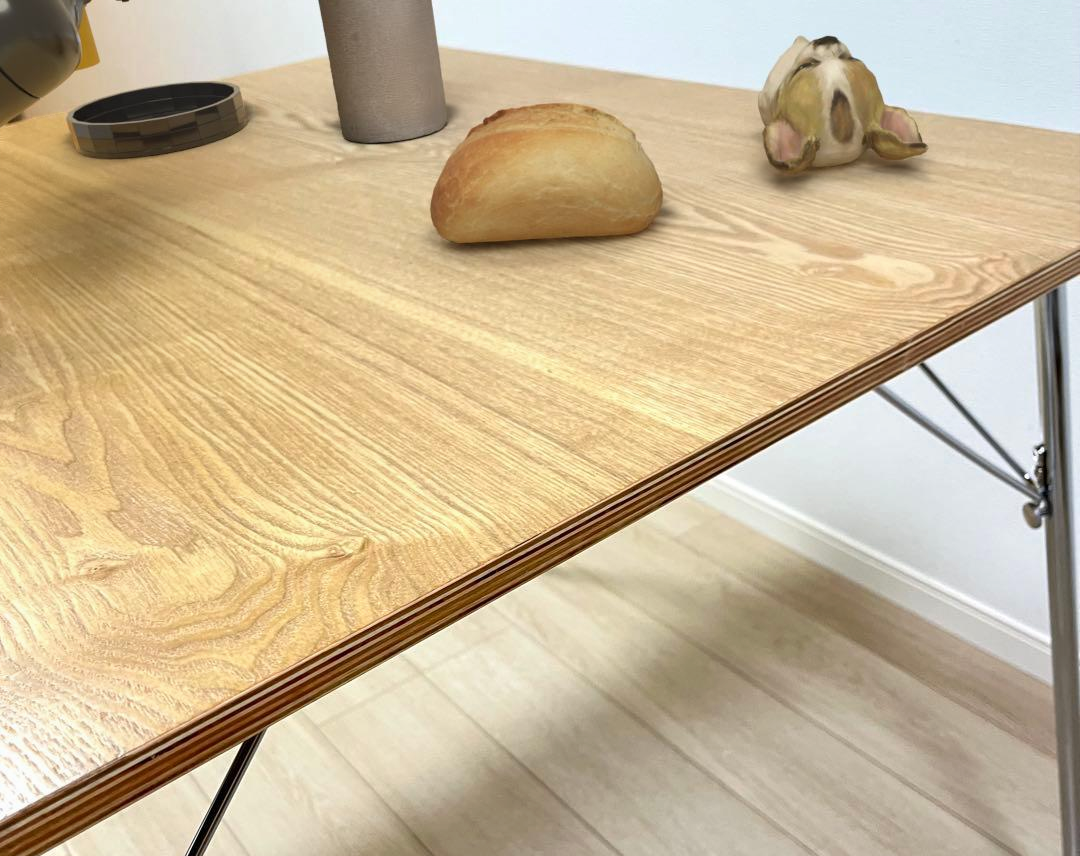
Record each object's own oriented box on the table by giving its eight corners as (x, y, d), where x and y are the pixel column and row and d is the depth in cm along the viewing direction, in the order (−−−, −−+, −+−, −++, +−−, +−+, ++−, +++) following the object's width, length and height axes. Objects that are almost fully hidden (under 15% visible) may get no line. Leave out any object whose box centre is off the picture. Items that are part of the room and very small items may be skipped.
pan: (69, 168, 102) (58, 134, 101) (83, 128, 116) (74, 97, 114) (250, 139, 105) (242, 105, 103) (244, 103, 118) (237, 73, 117)
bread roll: (438, 224, 79) (420, 104, 75) (653, 200, 79) (648, 79, 75) (433, 273, 71) (413, 142, 67) (673, 247, 71) (668, 114, 67)
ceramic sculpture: (871, 3, 84) (947, 55, 72) (863, 123, 89) (933, 190, 77) (728, 22, 84) (780, 77, 72) (728, 140, 89) (777, 210, 77)
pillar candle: (321, 135, 104) (285, -49, 95) (407, 110, 109) (380, -67, 100) (384, 150, 97) (351, -46, 89) (472, 122, 102) (448, -66, 94)
